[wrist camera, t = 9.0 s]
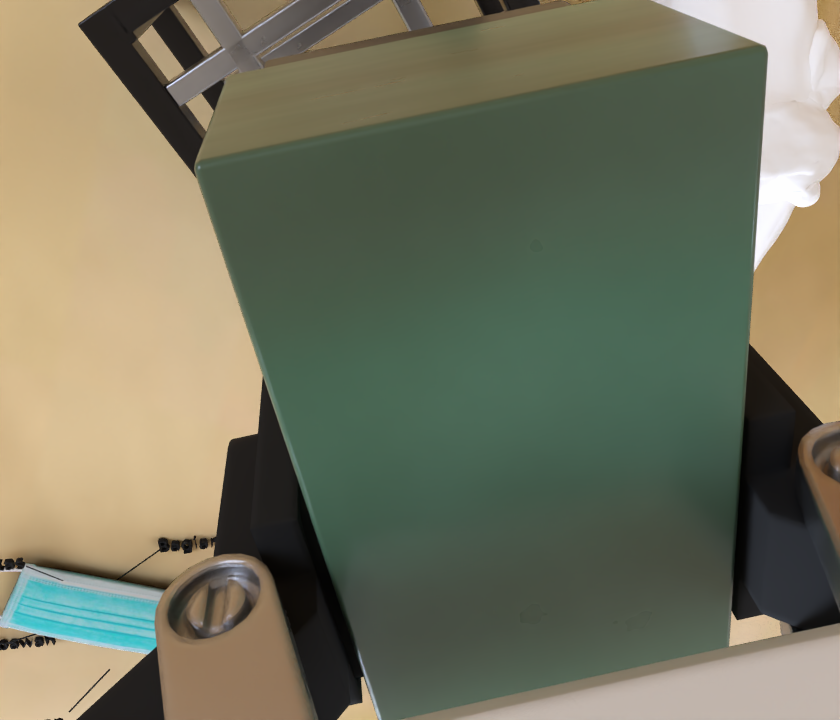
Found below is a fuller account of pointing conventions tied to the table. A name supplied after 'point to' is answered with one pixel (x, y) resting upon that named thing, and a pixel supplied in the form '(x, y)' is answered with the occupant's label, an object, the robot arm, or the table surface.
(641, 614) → the teal sanding sponge
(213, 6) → the rack
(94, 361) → the table surface
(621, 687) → the robot arm
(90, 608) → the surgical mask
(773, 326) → the table surface
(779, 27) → the dinosaur statue
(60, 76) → the table surface
